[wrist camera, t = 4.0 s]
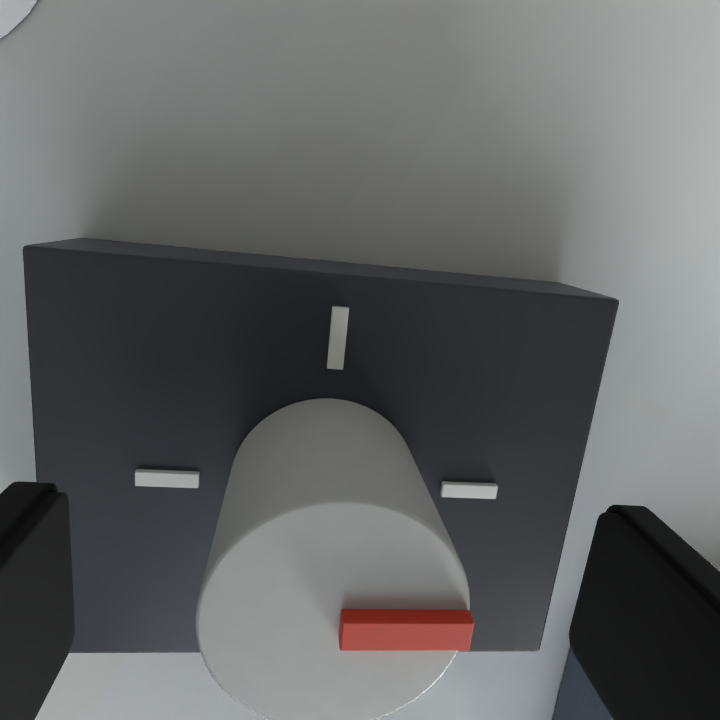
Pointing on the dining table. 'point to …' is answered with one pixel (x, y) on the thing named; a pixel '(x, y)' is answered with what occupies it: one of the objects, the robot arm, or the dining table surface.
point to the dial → (329, 571)
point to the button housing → (578, 695)
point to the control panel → (291, 385)
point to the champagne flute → (13, 13)
